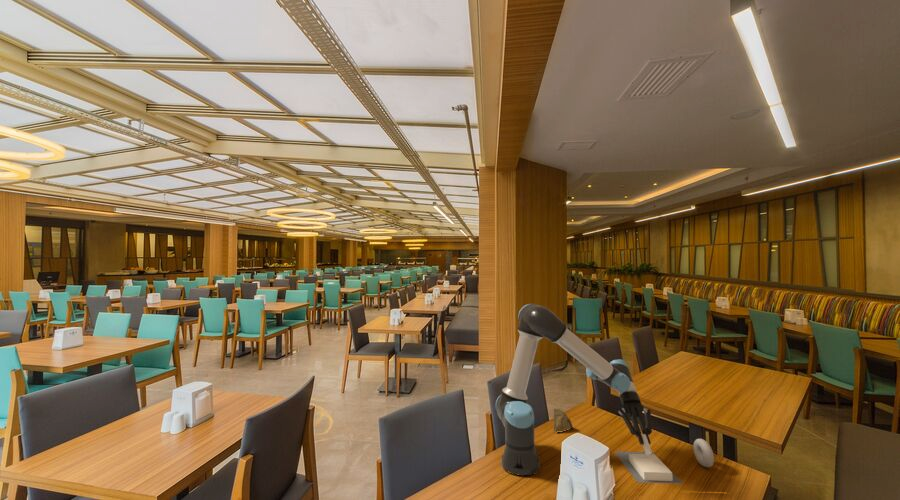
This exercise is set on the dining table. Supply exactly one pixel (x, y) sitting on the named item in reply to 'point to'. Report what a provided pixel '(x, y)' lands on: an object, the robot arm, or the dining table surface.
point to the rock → (561, 421)
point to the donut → (703, 453)
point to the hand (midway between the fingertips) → (648, 453)
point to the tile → (650, 467)
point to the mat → (625, 460)
